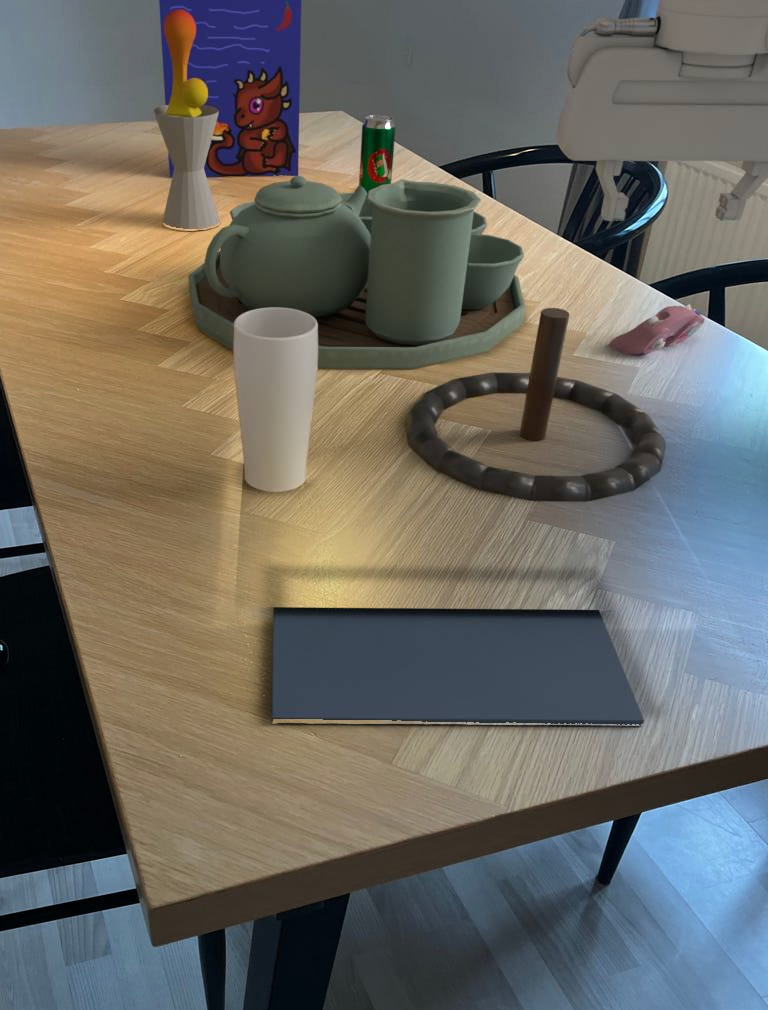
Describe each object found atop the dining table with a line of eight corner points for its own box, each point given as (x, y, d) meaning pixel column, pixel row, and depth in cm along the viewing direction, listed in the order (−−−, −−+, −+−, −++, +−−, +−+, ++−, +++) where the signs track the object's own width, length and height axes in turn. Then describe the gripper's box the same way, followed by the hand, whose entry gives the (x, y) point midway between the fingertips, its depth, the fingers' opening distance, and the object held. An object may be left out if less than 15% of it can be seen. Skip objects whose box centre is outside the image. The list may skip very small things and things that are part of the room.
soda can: (365, 195, 157) (370, 112, 150) (394, 200, 156) (401, 116, 148) (352, 203, 154) (357, 119, 146) (382, 208, 152) (388, 122, 145)
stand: (562, 429, 95) (590, 296, 87) (581, 469, 89) (613, 331, 81) (480, 428, 95) (500, 295, 87) (494, 469, 89) (517, 330, 81)
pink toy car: (625, 381, 108) (663, 335, 102) (600, 350, 109) (636, 303, 103) (681, 360, 112) (720, 315, 106) (656, 331, 113) (694, 285, 108)
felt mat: (586, 589, 75) (588, 583, 74) (642, 727, 63) (644, 720, 63) (273, 587, 75) (273, 580, 74) (271, 724, 63) (271, 717, 63)
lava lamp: (151, 228, 143) (129, -67, 121) (175, 211, 150) (159, -71, 128) (208, 234, 141) (197, -64, 119) (230, 217, 148) (224, -69, 125)
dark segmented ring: (620, 394, 101) (627, 369, 100) (694, 516, 83) (703, 487, 81) (394, 392, 101) (396, 366, 99) (418, 513, 83) (421, 485, 81)
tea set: (568, 297, 123) (596, 155, 113) (421, 416, 97) (440, 246, 87) (303, 239, 140) (306, 110, 129) (117, 327, 114) (102, 175, 103)
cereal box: (294, 166, 171) (297, -42, 152) (298, 175, 167) (301, -38, 148) (169, 168, 169) (156, -43, 150) (169, 177, 164) (156, -39, 145)
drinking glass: (229, 505, 84) (224, 335, 74) (244, 467, 89) (241, 303, 79) (307, 513, 83) (312, 342, 73) (318, 473, 88) (324, 309, 78)
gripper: (587, 23, 68) (551, 230, 76) (877, 25, 68) (809, 231, 77) (565, 11, 73) (533, 207, 81) (836, 13, 73) (776, 208, 82)
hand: (669, 219), depth 79 cm, fingers open, 8 cm apart
